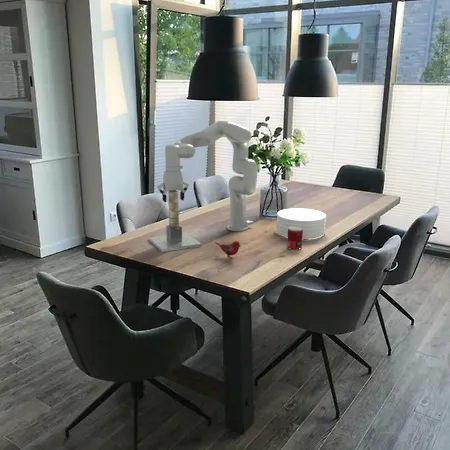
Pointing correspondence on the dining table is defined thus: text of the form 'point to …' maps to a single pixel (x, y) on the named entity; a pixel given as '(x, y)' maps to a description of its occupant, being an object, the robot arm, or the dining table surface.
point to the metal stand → (174, 240)
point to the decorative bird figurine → (230, 248)
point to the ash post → (173, 209)
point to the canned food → (295, 237)
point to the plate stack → (301, 221)
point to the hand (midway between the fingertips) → (173, 200)
